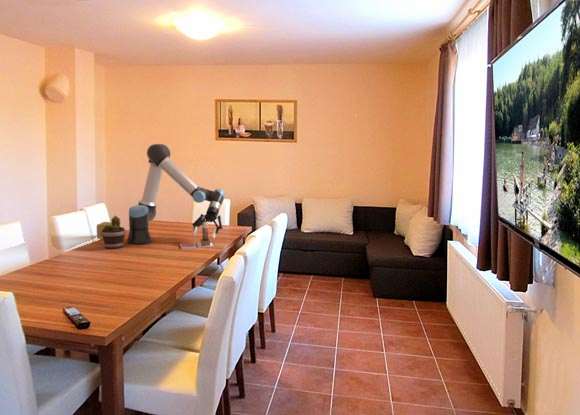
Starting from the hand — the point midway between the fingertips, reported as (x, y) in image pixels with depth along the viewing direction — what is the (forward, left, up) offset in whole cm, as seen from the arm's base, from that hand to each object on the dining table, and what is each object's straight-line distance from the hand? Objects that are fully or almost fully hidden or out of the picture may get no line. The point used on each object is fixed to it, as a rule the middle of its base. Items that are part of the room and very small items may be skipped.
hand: (203, 236), depth 280 cm
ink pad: (0, -10, -6) cm, 11 cm away
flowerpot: (-11, -53, -6) cm, 55 cm away
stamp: (-2, +2, -6) cm, 6 cm away
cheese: (-41, -58, -6) cm, 71 cm away
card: (-2, +1, -6) cm, 6 cm away
